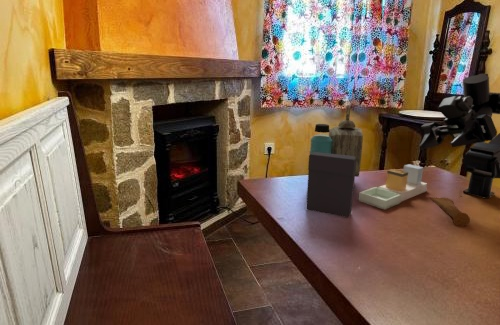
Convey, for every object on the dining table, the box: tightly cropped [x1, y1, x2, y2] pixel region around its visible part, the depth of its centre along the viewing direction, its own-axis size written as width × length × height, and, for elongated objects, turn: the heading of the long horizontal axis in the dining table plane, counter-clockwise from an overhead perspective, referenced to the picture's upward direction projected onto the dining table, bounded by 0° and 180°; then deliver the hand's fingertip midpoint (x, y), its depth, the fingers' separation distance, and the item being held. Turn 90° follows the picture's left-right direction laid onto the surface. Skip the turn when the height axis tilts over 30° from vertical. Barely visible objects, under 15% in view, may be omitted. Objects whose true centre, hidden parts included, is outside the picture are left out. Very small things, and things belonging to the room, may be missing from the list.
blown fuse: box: [385, 168, 408, 191], centre depth 102 cm, size 3×5×7 cm
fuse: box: [402, 163, 424, 185], centre depth 107 cm, size 3×4×7 cm, turn 39°
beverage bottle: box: [307, 123, 332, 175], centre depth 105 cm, size 6×7×20 cm
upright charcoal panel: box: [305, 152, 357, 218], centre depth 89 cm, size 11×4×15 cm, turn 65°
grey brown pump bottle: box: [328, 104, 364, 178], centre depth 111 cm, size 14×9×25 cm, turn 170°
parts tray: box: [358, 186, 402, 211], centre depth 98 cm, size 8×8×2 cm
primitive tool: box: [429, 196, 471, 227], centre depth 93 cm, size 19×6×4 cm, turn 170°
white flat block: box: [378, 181, 428, 202], centre depth 105 cm, size 15×7×2 cm, turn 129°
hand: (435, 146), depth 89 cm, fingers open, 9 cm apart
